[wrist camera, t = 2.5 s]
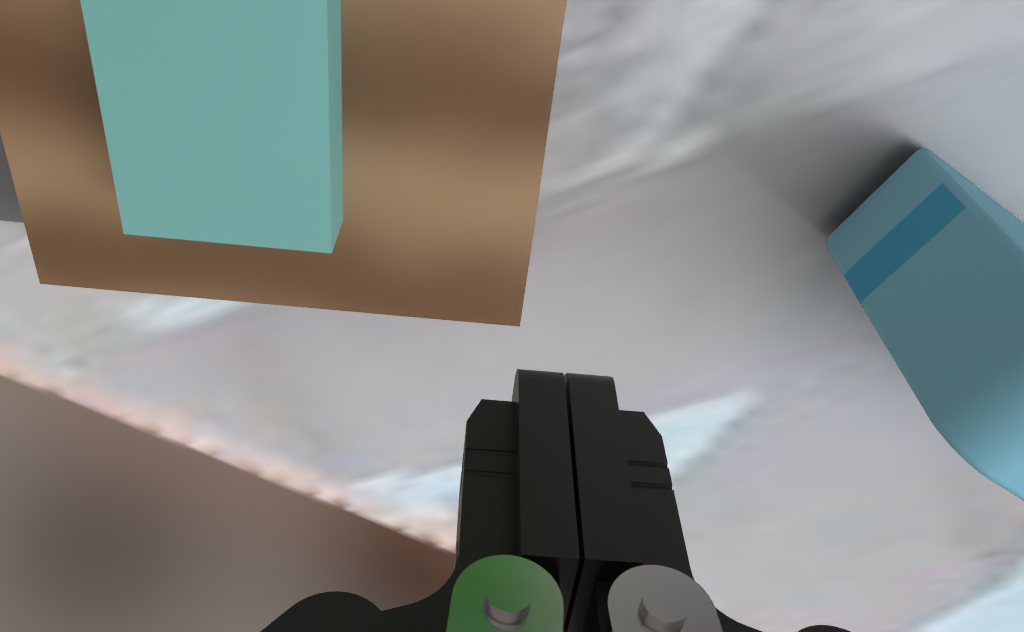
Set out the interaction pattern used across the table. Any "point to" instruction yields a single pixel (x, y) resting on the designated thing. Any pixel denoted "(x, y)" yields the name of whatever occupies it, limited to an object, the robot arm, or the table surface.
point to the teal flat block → (223, 118)
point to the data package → (947, 305)
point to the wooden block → (365, 157)
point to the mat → (8, 191)
